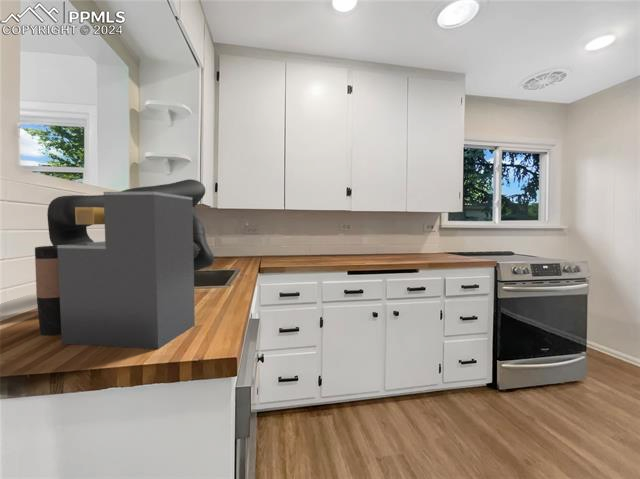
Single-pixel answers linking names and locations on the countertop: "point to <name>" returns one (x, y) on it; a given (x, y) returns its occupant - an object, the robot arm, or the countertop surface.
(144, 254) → the grey stepped block
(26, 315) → the countertop surface
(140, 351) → the countertop surface
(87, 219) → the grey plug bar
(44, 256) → the travel mug
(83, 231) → the robot arm
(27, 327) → the countertop surface
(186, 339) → the countertop surface
